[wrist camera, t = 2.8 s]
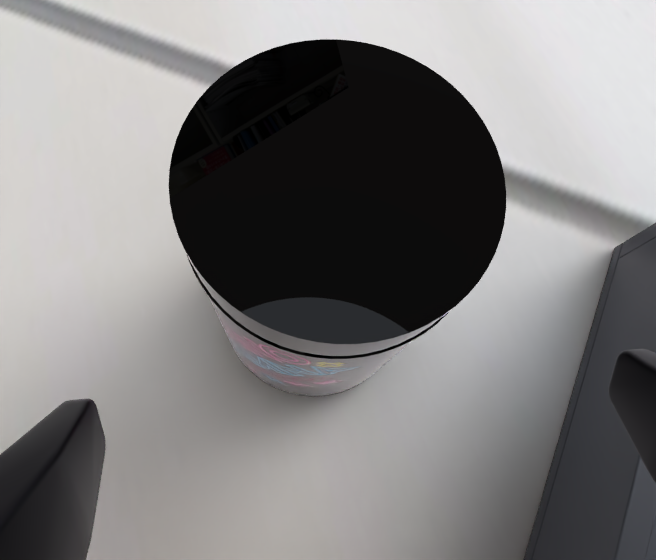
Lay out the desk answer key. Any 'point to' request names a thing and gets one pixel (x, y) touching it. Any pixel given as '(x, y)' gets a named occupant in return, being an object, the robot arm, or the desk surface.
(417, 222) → the supplement container
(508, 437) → the desk surface
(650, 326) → the square tray
